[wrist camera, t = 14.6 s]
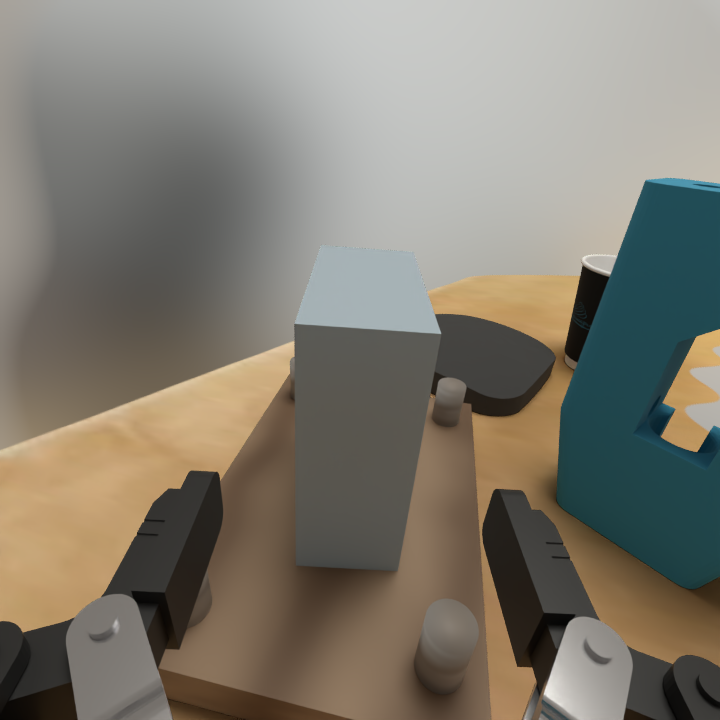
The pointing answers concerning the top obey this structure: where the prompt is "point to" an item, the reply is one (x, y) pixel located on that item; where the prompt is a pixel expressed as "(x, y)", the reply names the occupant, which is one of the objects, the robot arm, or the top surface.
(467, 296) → the top surface
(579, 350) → the dixie cup
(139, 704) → the robot arm
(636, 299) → the block
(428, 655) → the peg stand
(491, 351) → the media streaming box
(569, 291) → the top surface
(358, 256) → the grey rectangular box
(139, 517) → the top surface
